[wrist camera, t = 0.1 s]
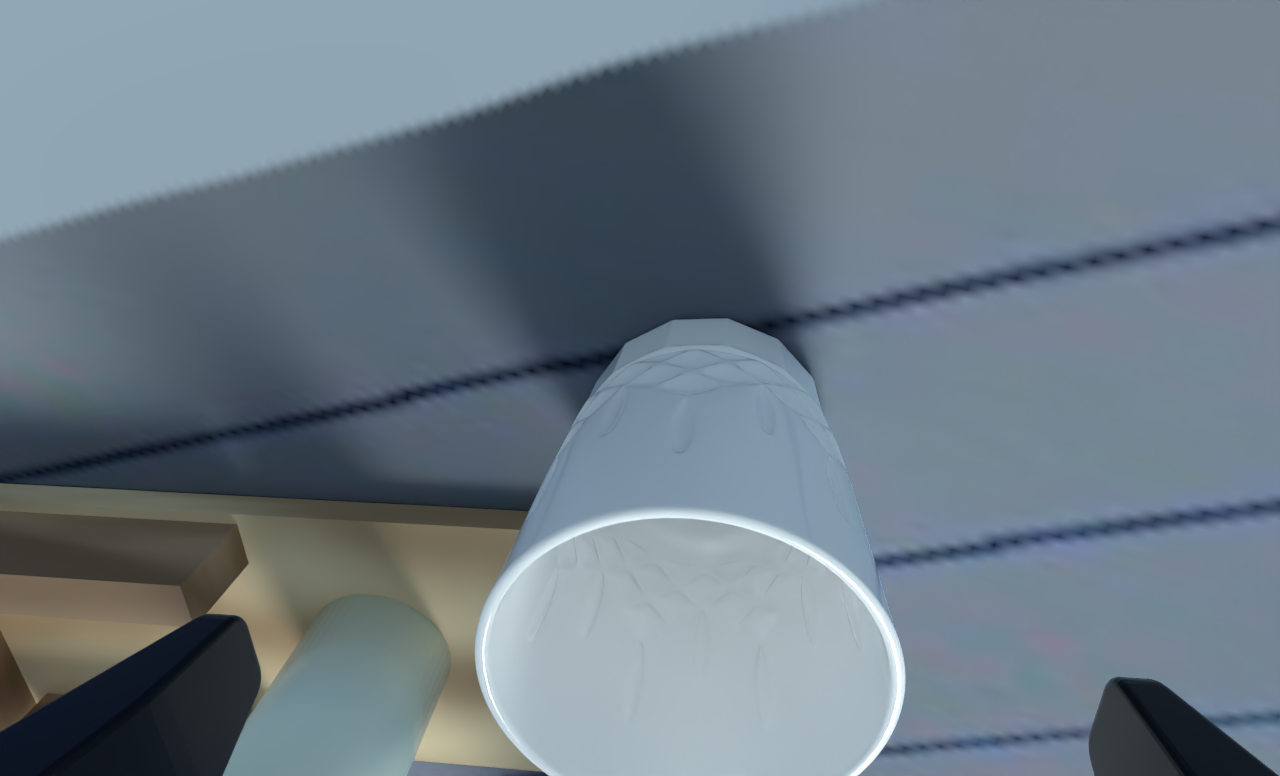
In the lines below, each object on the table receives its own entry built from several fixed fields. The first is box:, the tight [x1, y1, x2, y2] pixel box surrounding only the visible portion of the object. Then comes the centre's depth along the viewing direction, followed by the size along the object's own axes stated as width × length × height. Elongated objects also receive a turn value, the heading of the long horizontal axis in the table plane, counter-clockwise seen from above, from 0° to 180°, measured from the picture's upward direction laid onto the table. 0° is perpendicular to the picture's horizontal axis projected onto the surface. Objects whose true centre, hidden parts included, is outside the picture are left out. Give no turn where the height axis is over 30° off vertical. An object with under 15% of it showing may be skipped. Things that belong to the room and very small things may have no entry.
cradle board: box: [0, 483, 543, 772], centre depth 27 cm, size 11×23×4 cm, turn 91°
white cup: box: [475, 318, 905, 776], centre depth 19 cm, size 8×8×10 cm
